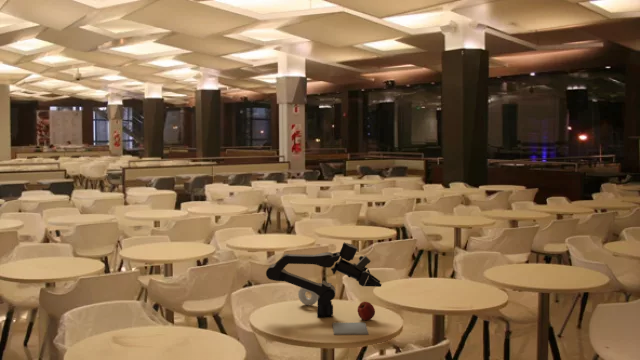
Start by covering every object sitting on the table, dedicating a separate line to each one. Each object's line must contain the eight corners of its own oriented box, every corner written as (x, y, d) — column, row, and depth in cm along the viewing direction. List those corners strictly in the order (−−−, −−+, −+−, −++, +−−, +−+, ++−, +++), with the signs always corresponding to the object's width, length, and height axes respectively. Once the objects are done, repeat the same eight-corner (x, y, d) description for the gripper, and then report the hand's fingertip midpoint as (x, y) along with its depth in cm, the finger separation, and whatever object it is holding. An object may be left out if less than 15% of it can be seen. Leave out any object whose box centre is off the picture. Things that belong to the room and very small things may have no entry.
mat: (334, 334, 278) (334, 333, 278) (332, 324, 292) (332, 322, 292) (368, 334, 278) (368, 333, 278) (365, 323, 292) (365, 322, 292)
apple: (354, 318, 300) (354, 300, 299) (370, 316, 303) (370, 298, 303) (361, 323, 294) (362, 304, 293) (377, 320, 297) (378, 302, 296)
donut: (297, 305, 320) (297, 284, 319) (299, 303, 323) (299, 282, 322) (317, 307, 316) (317, 286, 315) (319, 305, 320) (319, 284, 318)
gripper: (356, 255, 292) (390, 270, 291) (355, 249, 310) (386, 264, 310) (345, 278, 292) (379, 294, 292) (345, 272, 310) (376, 286, 310)
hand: (380, 283), depth 301 cm, fingers open, 9 cm apart
